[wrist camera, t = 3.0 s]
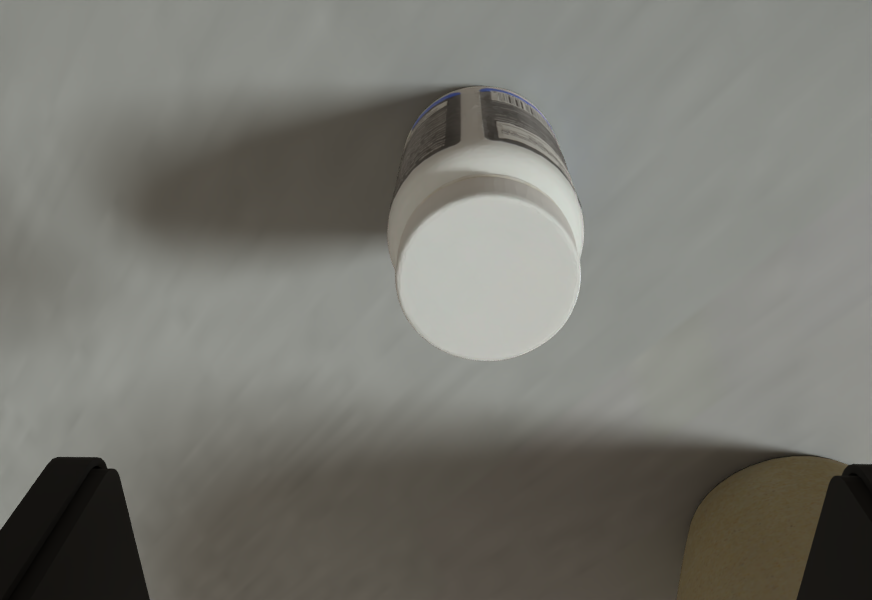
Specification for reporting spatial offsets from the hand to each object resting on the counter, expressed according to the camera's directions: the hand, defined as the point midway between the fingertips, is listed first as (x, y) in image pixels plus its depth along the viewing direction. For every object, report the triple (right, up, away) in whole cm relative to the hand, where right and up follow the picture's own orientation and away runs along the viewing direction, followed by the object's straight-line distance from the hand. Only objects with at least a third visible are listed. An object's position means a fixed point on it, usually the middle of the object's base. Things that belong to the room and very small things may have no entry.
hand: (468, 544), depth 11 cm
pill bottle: (+1, +8, +14) cm, 16 cm away
